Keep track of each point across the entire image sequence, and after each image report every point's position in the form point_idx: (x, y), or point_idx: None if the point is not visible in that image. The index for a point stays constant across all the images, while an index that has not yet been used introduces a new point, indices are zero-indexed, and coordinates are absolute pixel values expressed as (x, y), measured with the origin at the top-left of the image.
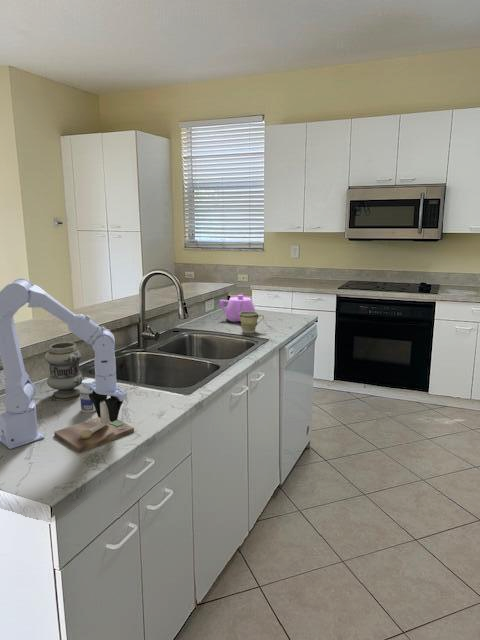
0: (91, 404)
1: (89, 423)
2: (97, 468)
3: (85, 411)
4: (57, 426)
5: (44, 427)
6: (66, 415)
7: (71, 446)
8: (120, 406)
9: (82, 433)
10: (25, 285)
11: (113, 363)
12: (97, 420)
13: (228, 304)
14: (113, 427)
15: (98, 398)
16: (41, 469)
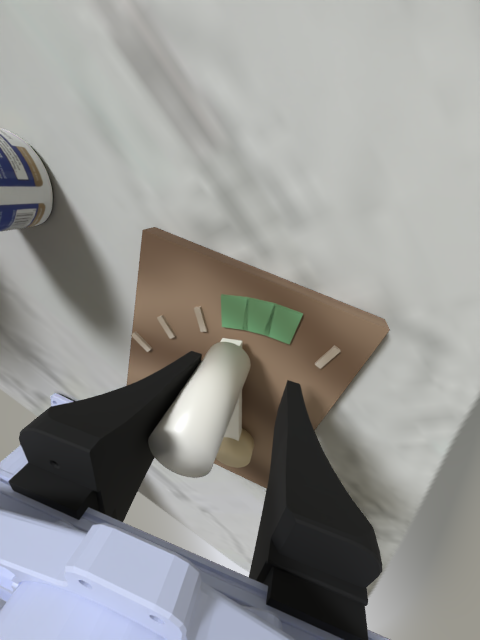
0: (12, 212)
1: (160, 346)
2: (380, 534)
3: (34, 225)
4: (82, 359)
5: (64, 373)
6: (21, 278)
7: None
8: (325, 459)
9: (227, 461)
10: None
11: None
12: (163, 312)
13: None
14: (278, 352)
15: (130, 480)
16: (245, 529)
